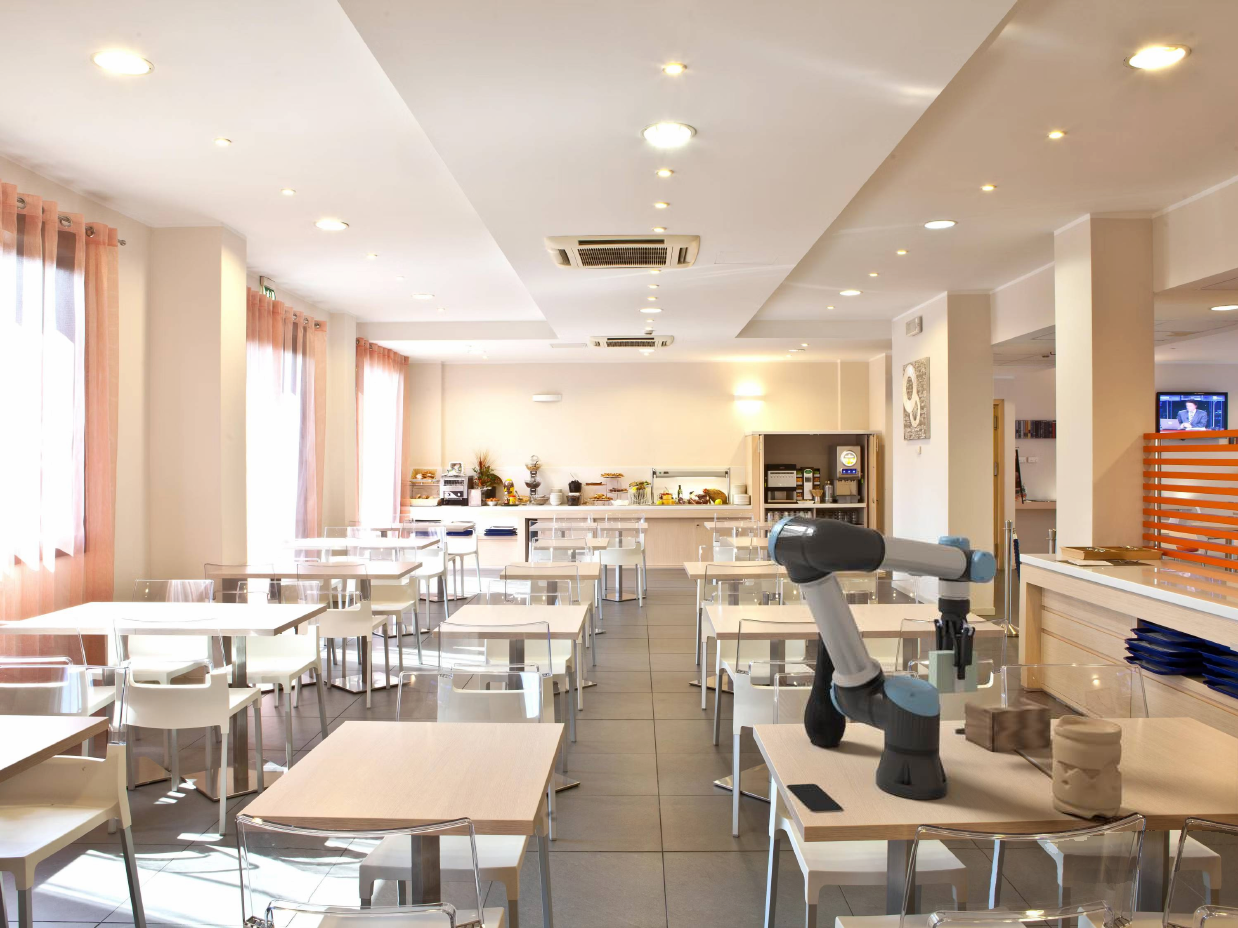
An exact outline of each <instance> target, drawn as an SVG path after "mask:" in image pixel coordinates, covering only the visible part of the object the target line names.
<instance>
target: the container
mask: <svg viewBox="0 0 1238 928" xmlns="http://www.w3.org/2000/svg"><path fill="white" fill-rule="evenodd" d="M1053 726H1054V727H1053V732H1054V733H1053V734H1052V769H1051V771H1052V773H1051V774H1052V780H1051V781H1052V782H1051V783H1052V784H1051V785H1052V787H1051V789H1052V790H1051V791H1052V794H1053V795H1052V800H1051V801H1052V805H1053V807H1052V808H1054V809H1056V811H1058V812H1063V813H1062V814H1068V815H1069V814H1070V815H1076V816H1079V817H1083V818H1086V819H1089V820H1090V819H1092V817H1094V816H1099V817H1102V818H1106V819H1107V818H1113V817H1114V816H1116V814H1117V813H1118V812H1119V811H1120V809H1121V805H1122V801H1123V800H1122V798H1123V797H1122V796H1123V794H1122V793H1123V790H1122V789H1123V788H1122V787H1123V784H1122V781H1123V780H1122V776H1123V775H1122V771H1120V770H1119V768H1118V766H1119V765H1120V763H1121V760H1122V750H1123V748H1122V743H1121V740H1122V737H1123V736H1122V735H1123V734H1122V733H1123V731H1122V727H1121V725H1119V724H1117V723H1114V722H1112V721H1110V720H1109V721H1108V720H1105V719H1102V718H1097V717H1091V716H1080V715H1074V714H1069V715H1067V714H1066V715H1062V716H1061V717H1059V718H1058V721H1057V722H1056V724H1055V725H1053Z"/></svg>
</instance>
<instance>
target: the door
mask: <svg viewBox="0 0 1238 928" xmlns="http://www.w3.org/2000/svg"><path fill="white" fill-rule="evenodd" d="M978 663H979V652H978V651H975V650H973V652H972V665H969V666H966V667H965V680H964V692H957V693H958V694H959V693H973V692H974V693H976V692H978V686H979V685H978V684H979V683H978V677H979V676H978V675H979V673H978V672H979V671H978V669H979V668H978V665H979V664H978ZM953 664H956V663H955V653H954V649H953V650H944V651H936V650H929V651H928V682H929V683H930V684H932V685H933V686H934V687H935V688H936V689H937V690H938V693H939V695H941V694H957V693H955V692H953Z"/></svg>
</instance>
